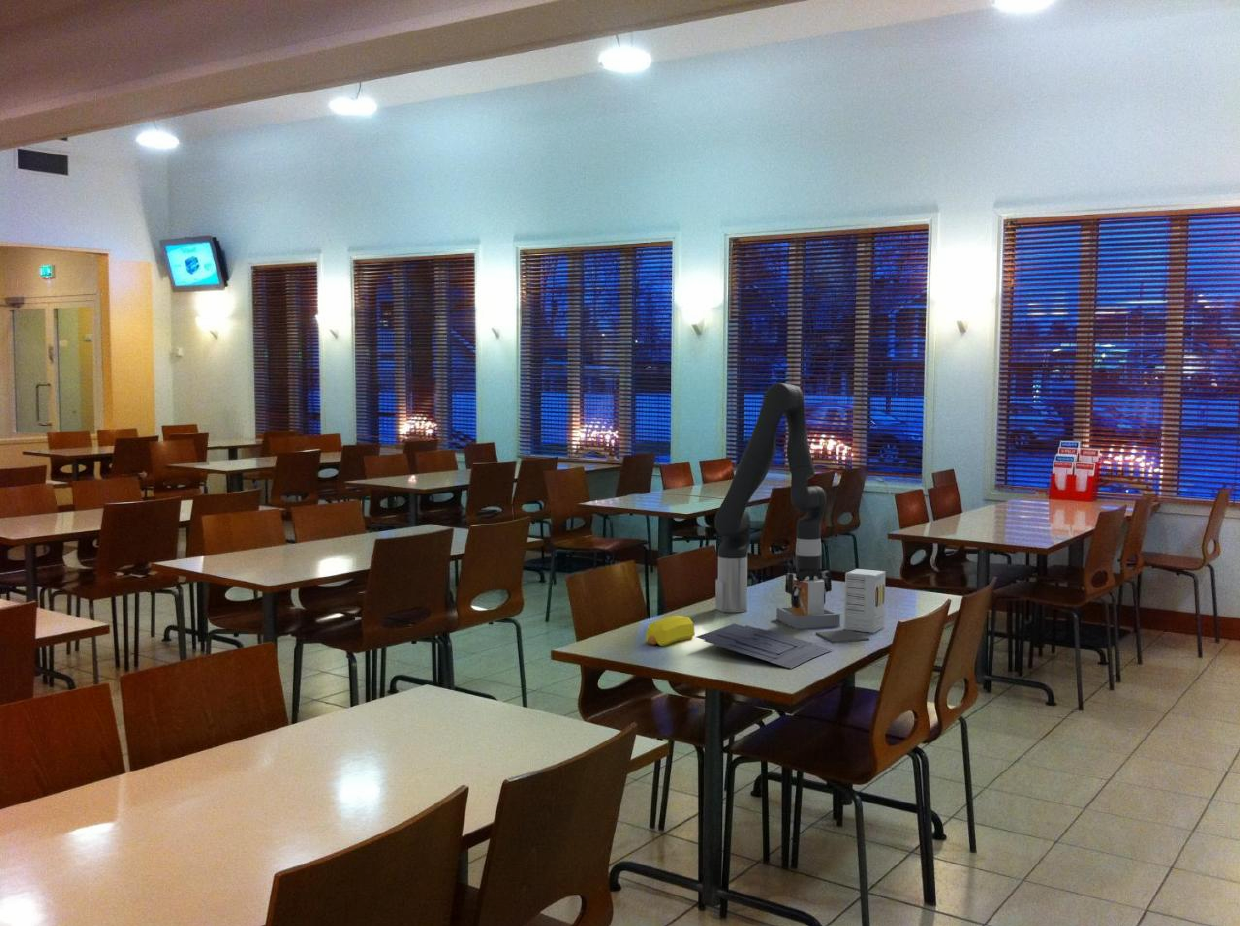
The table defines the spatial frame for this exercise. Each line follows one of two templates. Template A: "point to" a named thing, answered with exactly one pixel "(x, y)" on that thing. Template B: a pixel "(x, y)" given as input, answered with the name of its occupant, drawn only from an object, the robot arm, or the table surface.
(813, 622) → the grey bin
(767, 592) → the table surface
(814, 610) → the small box
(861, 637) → the charcoal mat
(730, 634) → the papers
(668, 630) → the yellow faceted capsule
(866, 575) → the supplement box
